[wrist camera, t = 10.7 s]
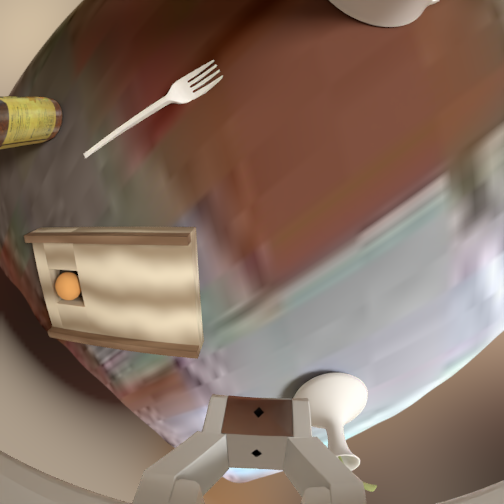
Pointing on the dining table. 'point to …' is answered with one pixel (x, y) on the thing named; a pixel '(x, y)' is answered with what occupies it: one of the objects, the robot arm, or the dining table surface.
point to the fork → (167, 101)
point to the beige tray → (124, 287)
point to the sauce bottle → (28, 120)
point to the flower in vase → (336, 410)
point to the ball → (68, 286)
